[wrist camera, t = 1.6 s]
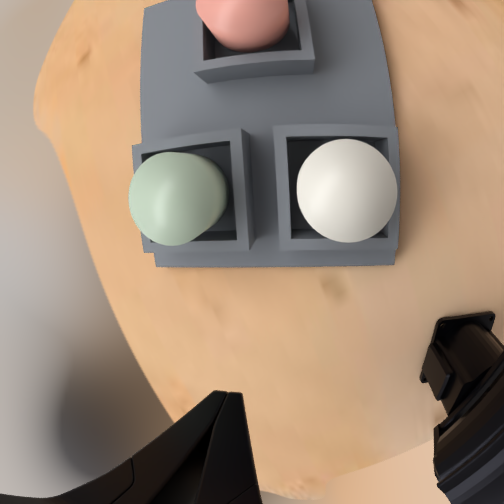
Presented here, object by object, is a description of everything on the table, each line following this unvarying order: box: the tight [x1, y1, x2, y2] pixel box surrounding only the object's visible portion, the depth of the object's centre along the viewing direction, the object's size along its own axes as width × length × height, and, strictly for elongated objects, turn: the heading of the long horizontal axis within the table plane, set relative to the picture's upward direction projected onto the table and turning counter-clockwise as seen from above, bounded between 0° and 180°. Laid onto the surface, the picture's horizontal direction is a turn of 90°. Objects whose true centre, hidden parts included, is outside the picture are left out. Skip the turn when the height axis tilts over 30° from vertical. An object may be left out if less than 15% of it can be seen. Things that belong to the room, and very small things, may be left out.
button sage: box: [129, 152, 229, 246], centre depth 14 cm, size 4×4×3 cm
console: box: [132, 0, 400, 267], centre depth 14 cm, size 16×20×4 cm
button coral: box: [196, 0, 290, 52], centre depth 10 cm, size 4×4×3 cm
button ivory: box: [297, 139, 397, 243], centre depth 12 cm, size 4×4×3 cm
